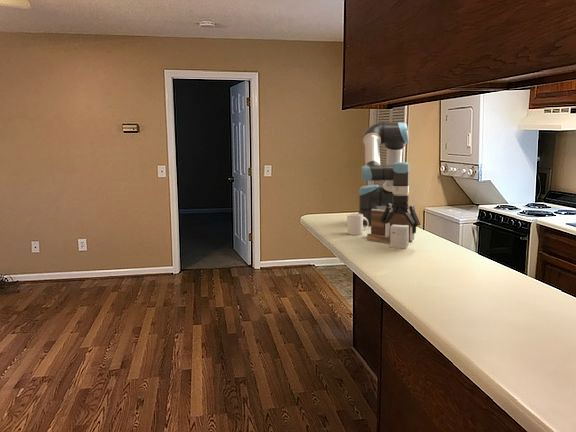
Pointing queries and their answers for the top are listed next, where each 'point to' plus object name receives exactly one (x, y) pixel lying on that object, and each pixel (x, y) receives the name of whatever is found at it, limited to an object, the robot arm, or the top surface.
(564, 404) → the top surface
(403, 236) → the small box
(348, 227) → the mug
